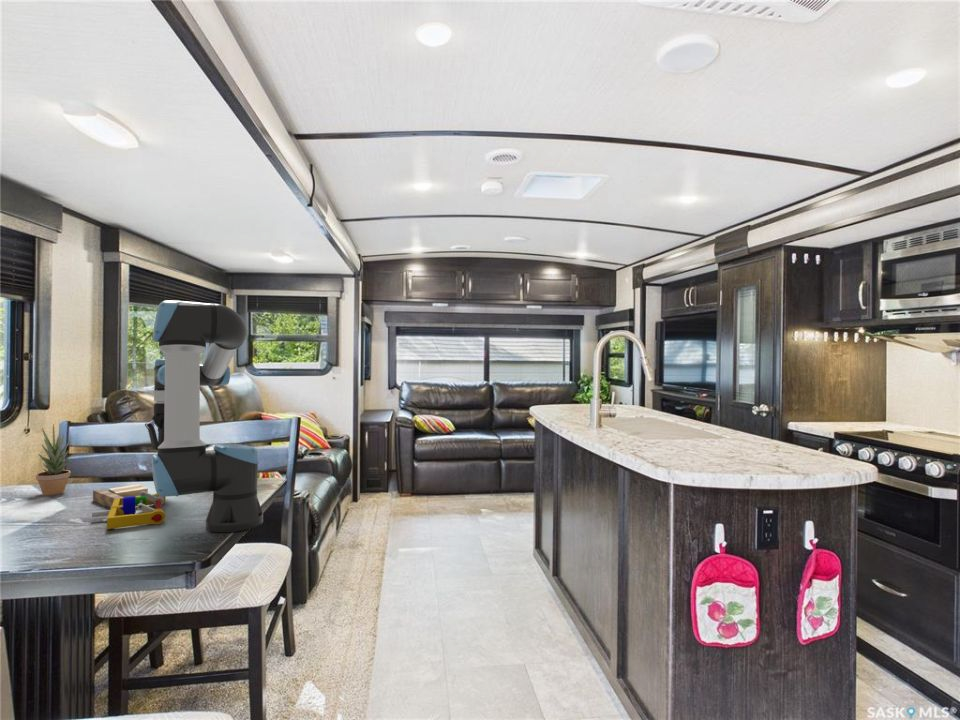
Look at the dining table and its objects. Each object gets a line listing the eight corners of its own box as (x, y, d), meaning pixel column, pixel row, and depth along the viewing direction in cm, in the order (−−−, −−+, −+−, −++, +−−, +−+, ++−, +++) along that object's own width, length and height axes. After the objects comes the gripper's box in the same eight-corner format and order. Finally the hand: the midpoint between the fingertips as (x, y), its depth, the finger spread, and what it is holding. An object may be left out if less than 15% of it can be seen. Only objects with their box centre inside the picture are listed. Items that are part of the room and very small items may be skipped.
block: (147, 500, 177) (147, 488, 177) (116, 505, 171) (116, 493, 171) (139, 495, 183) (139, 484, 183) (108, 500, 176) (108, 488, 176)
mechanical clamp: (165, 481, 176) (165, 502, 150) (165, 500, 176) (164, 524, 150) (99, 487, 167) (86, 511, 141) (98, 507, 166) (85, 534, 141)
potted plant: (29, 494, 180) (30, 423, 181) (60, 489, 189) (61, 421, 189) (46, 498, 177) (48, 425, 177) (77, 492, 185) (78, 422, 186)
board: (124, 508, 166) (124, 497, 166) (115, 510, 164) (115, 499, 164) (101, 499, 176) (101, 489, 176) (92, 500, 174) (93, 490, 174)
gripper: (180, 401, 192) (178, 465, 191) (141, 402, 181) (139, 470, 180) (190, 402, 188) (189, 467, 187) (151, 403, 177) (149, 473, 176)
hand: (165, 469), depth 184 cm, fingers closed
